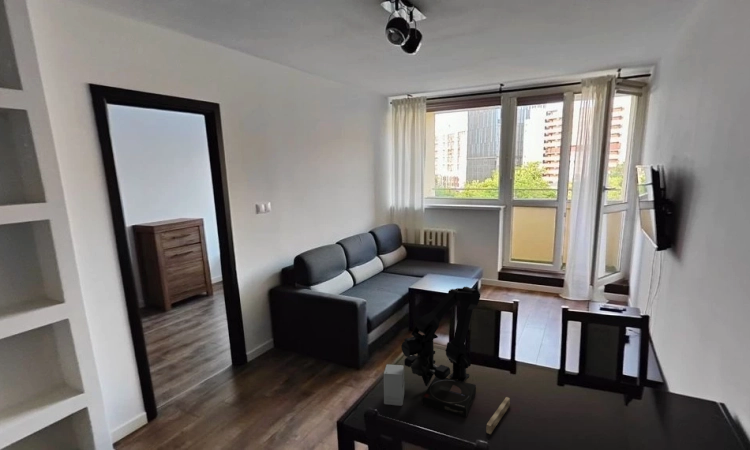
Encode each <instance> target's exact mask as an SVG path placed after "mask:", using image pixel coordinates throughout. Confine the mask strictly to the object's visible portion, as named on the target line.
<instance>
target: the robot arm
mask: <svg viewBox="0 0 750 450" xmlns="http://www.w3.org/2000/svg"><path fill="white" fill-rule="evenodd" d="M480 299H481V293H480V291H479V290H477V289H474V288H471V287H469V286H463V287H460V288H459V287H457V288H451V289H449V290H448V292H447V294H446V295H445V296H444V297H443V299H441V300H440V302H439V303H438V304H437V305H436V306H435V307H434V308H433V309H432V310H431V312H429V313H425V314H423V315H422V316H421V317H420V318H419V319H418V320H417V322H416V324H415V326H414V328H413V329H412V332H411V333H410V334H411V337H406V338H404V340H403V341H402V344H401V346H400V347H401V351H402V353H403V356H405V358H404V360H403V361H404V362H403V363H404V365H403V366H404V367H405V366H406V367H408V368H410V369H411V371H412V372H411V373H412V374H414V375H417V376H419V377H421V378H422V380H423V381H422V382H423V384H424V386H425V387H429V386H430V384H431V380H432V378H433V376H434V377H435V376H436V377H437V378H439V379H442V380H443V379H445V378H448V376H449V379H453V380H457V381H462V382H465V381H466V380H467V379H468V378H469V377H470V374H469V373H467V369H468V368H469V367H470V366H471V364H472V359H470V358H469V357H468V356H467V354H468V353H467V352H468V350H467V345H466V339H467V336H468V331H469V328H470V323H471V319H472V313H473V311H474V309H476V307H478V305H479V302H480ZM458 301H459V304H460V308H459V314H458V319H457V323H456V325H455V330H454V334H453V335H454V336H453V338H452V340H451V341H450V342H449V341H448V342H447V343H446V349H445V350H444V351H445V355H446V358H448V359H447V360H448V361H449V362H452V373H451V368H450V367H449V366H446V365H444V364H440V365H436V360H435V359H434V357H435V354H436V351H435V350H434V347H435V346H434V340H435V339H438V338H439V335H437V334H436V332H437V330H438V329H439V326H440V322H441V321H442V319H443V318H444V317H445V316H446V315H447V313H448V312H450V310H451V309H452V308H453V307H454V306H455V305H456V304H457V302H458Z"/></svg>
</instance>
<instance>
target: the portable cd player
mask: <svg viewBox="0 0 750 450" xmlns="http://www.w3.org/2000/svg"><path fill="white" fill-rule="evenodd" d="M476 385H477V384H474V383H469V382H465V381H464V382H462V381H459V380H456V379H453V378H450V377H446V378H445V379H443V380H442V379H439V378H437V377H436V376H435V375H434V378H433V379H432V381H430V383H429V385H428V386H427V389H426V390H425V392H424V394H423V395H422V399H421V401H422V406H424V407H425V408H426V407H427V408H430V409H434V410H438V411H441V412H445V413H447V414H451V415H455V416H458V417H461V418H467V416H468V414H469V411H470V408H471V407H472V403H473V401H474V398H475V397H476V396H475V395H476V393H477V386H476Z"/></svg>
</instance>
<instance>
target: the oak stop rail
mask: <svg viewBox="0 0 750 450" xmlns="http://www.w3.org/2000/svg"><path fill="white" fill-rule="evenodd" d="M510 407H511V398H510V397H508V396H506V397H505V398H504V400H503V401H502V402H501V403H500V405H499V406H498V408H497V409H496V411H495V412H493V415H492V416H491V417H490V419H489V420H488V422H487V423H486V427H485V428H486V429H485V430H486V434H489V435H492V433H493V432H494V430H495V428H496V426H497V425H498V424H499V423H500V422H501V420H502V418H503V416H504V415H505V413H506V412H508V410H509V408H510Z"/></svg>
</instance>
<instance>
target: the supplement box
mask: <svg viewBox="0 0 750 450" xmlns="http://www.w3.org/2000/svg"><path fill="white" fill-rule="evenodd" d="M404 397H405V365H400V364H399V365H398V364H387V363H386V365H385V368H384V371H383V404H384V405H389V406H391V405H392V406H403V404H404Z"/></svg>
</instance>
